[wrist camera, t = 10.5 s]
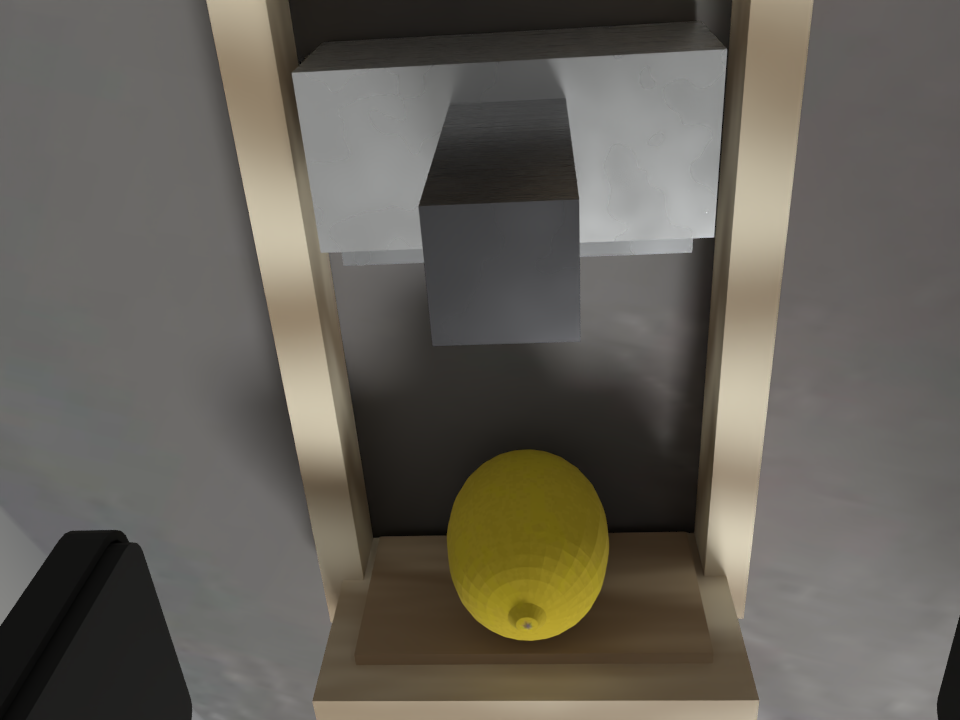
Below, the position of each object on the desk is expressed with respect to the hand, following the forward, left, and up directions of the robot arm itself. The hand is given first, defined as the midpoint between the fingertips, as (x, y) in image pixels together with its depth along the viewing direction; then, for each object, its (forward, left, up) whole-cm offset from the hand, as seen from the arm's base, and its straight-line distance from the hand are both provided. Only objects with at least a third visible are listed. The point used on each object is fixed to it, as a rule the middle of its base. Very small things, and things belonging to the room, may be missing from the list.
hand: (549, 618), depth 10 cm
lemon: (-13, +1, -21) cm, 24 cm away
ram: (0, +1, -20) cm, 20 cm away
